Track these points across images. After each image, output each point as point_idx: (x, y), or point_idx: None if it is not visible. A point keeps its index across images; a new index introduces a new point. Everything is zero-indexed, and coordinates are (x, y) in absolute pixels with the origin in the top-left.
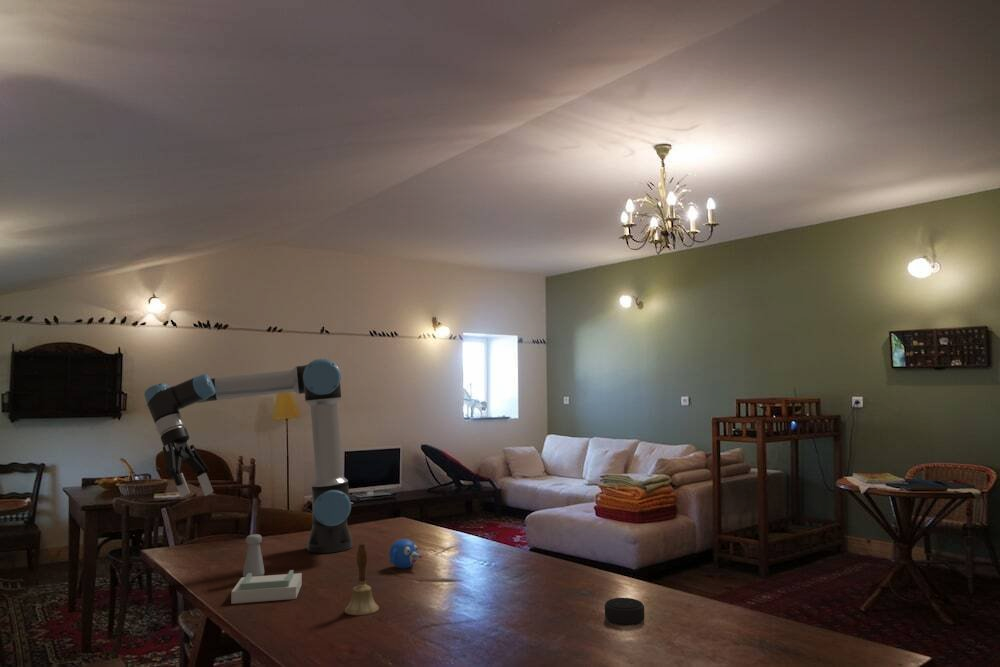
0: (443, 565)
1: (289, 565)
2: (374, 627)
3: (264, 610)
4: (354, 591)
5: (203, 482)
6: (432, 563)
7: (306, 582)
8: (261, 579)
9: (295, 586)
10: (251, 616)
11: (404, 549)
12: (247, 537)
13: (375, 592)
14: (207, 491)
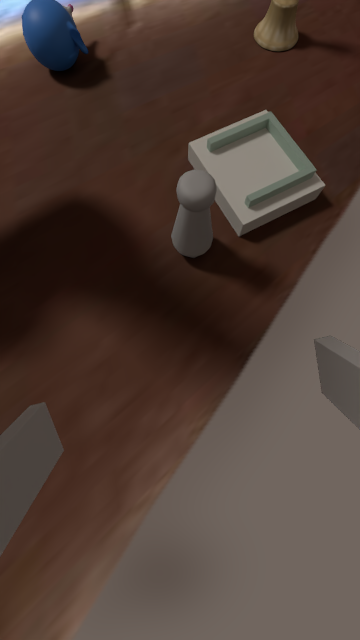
0: None
1: (69, 249)
2: (324, 3)
3: (322, 138)
4: (297, 4)
5: (7, 498)
6: None
7: (176, 157)
8: (244, 183)
9: (264, 111)
10: (350, 139)
11: (68, 12)
12: (213, 191)
13: (200, 50)
14: (46, 439)
